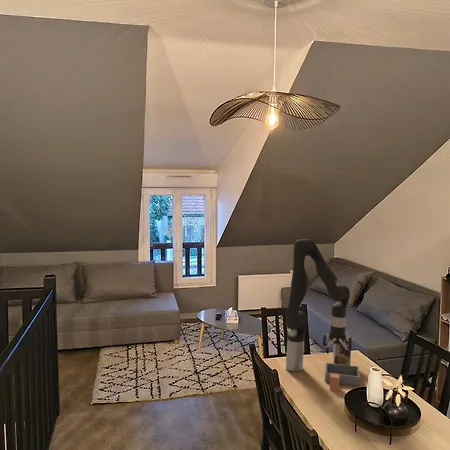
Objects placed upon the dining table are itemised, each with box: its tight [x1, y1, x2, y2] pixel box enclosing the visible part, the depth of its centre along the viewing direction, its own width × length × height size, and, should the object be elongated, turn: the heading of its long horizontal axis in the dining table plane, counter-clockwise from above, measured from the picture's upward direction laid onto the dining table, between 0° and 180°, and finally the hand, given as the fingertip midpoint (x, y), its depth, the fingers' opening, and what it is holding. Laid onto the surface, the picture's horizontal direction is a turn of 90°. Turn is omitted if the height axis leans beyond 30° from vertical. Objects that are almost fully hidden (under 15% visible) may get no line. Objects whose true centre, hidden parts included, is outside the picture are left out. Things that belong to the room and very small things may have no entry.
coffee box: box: [332, 339, 352, 366], centre depth 254 cm, size 9×6×16 cm
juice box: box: [329, 373, 340, 392], centre depth 226 cm, size 4×4×7 cm
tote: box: [324, 362, 361, 387], centre depth 238 cm, size 18×14×5 cm
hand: (336, 354), depth 225 cm, fingers open, 8 cm apart
